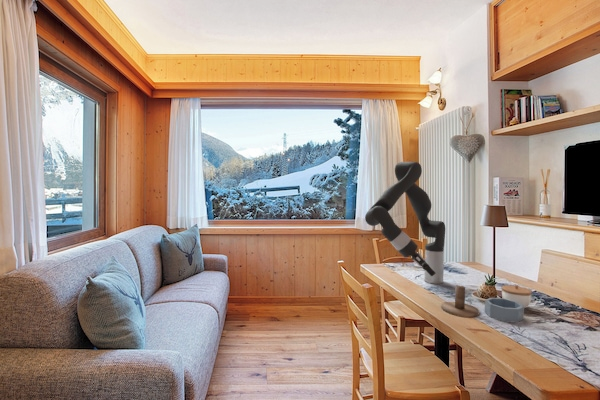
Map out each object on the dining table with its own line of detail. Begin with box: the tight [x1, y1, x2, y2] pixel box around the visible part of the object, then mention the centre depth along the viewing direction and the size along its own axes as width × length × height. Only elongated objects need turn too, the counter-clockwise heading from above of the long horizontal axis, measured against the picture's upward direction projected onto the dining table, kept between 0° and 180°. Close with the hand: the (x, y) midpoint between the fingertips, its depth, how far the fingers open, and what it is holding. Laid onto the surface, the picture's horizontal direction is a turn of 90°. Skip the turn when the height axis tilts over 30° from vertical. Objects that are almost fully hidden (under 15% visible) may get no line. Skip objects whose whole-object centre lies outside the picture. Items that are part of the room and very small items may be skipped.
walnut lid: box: [440, 285, 480, 318], centre depth 130 cm, size 14×14×10 cm
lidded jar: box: [501, 284, 533, 309], centre depth 135 cm, size 11×11×9 cm
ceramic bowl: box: [484, 297, 525, 323], centre depth 125 cm, size 12×12×5 cm
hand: (431, 272), depth 132 cm, fingers open, 8 cm apart
